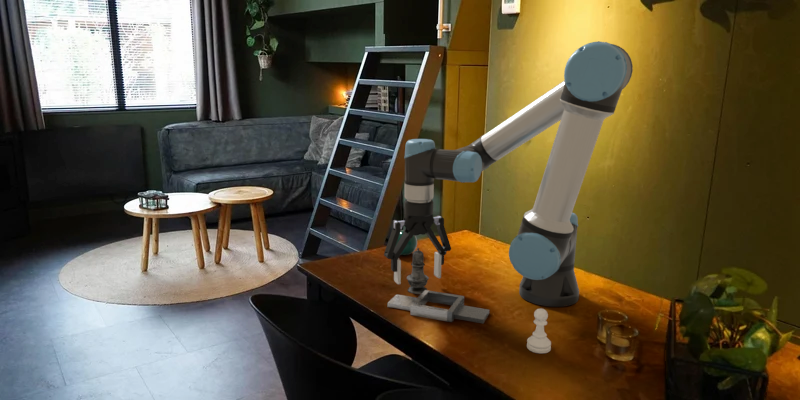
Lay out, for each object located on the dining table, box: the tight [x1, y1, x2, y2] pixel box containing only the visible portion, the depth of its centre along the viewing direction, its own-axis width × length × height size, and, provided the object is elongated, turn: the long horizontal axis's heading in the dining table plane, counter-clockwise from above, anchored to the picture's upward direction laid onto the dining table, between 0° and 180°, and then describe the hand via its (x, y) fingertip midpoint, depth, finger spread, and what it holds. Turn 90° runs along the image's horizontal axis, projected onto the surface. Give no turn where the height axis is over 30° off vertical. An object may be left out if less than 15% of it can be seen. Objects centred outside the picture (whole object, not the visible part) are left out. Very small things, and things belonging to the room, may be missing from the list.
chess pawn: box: [526, 307, 552, 354], centre depth 121 cm, size 5×5×9 cm
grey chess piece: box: [406, 247, 429, 295], centre depth 151 cm, size 6×6×12 cm
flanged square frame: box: [387, 289, 490, 324], centre depth 140 cm, size 24×10×2 cm, turn 68°
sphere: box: [395, 229, 418, 256], centre depth 180 cm, size 8×8×8 cm
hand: (417, 279), depth 152 cm, fingers open, 11 cm apart
